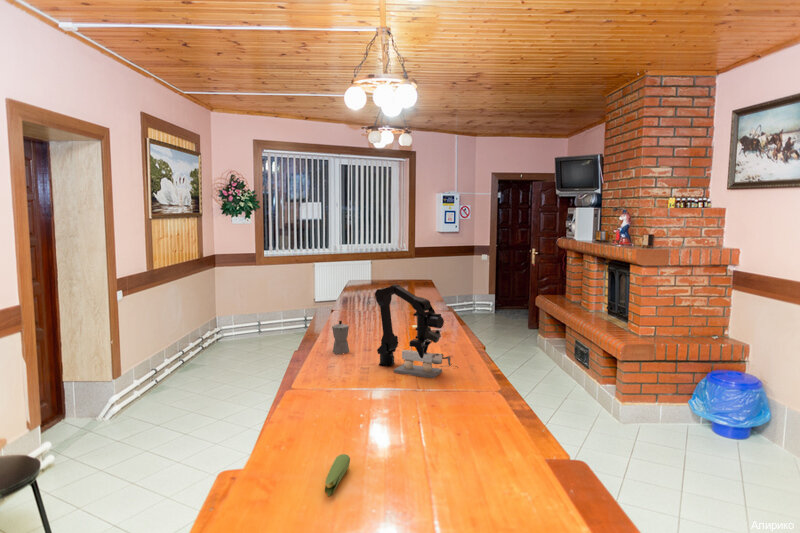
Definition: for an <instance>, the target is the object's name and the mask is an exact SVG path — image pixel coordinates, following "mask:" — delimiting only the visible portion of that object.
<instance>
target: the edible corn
mask: <svg viewBox="0 0 800 533" xmlns="http://www.w3.org/2000/svg"><path fill="white" fill-rule="evenodd" d="M350 464H351V458H350V456H349V455H348V454H346V453H342V454H339V455H337V456H336V457H335V459H334V461H333V463H332V465H331V467H330V469H329V471H328V473H327V475H326V477H325V482H324V483H325V486H324V492H325V494H326V493H327V497H330V496H331V497H332V496H333V494H334V492H335V490H336V489H337V488H338V485H339V484H340V482H341V480H342V479H343V477H344V475H345V474H346V473H347V471H348V469H349V467H350Z"/></svg>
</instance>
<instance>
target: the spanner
mask: <svg viewBox="0 0 800 533" xmlns="http://www.w3.org/2000/svg"><path fill="white" fill-rule="evenodd" d="M442 354H443V353H439V352H435V353H434V352H428V351H427V352H424V353H423V358H420V356H419V354H418V352H417V350H412V349H411V350H410V349H404V350H402V351H401V360H413V362H414V361H415V362H421V363H423V362H427V363H432V365H441V364H443V359H442V357H443V356H442Z"/></svg>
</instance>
